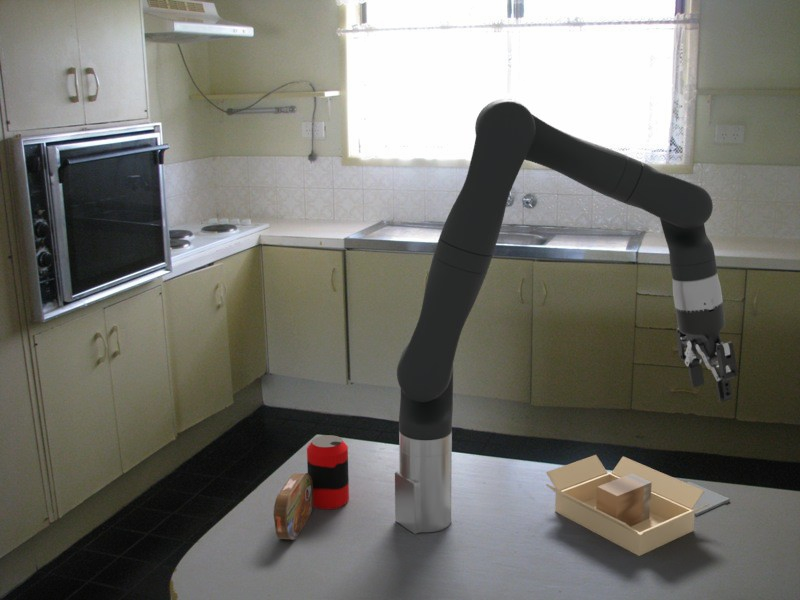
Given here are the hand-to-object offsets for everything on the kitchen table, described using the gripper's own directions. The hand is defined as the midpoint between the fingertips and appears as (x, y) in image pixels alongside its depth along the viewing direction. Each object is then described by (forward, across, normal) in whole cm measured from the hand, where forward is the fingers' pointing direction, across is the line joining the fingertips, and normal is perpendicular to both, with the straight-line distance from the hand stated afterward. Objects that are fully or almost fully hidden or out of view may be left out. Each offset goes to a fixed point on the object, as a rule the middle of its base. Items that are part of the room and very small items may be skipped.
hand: (711, 392), depth 147 cm
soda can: (+11, -25, -66) cm, 72 cm away
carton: (+22, -6, -17) cm, 28 cm away
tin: (+10, -17, -73) cm, 76 cm away
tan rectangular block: (+21, -6, -17) cm, 28 cm away
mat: (+24, -10, -1) cm, 27 cm away
